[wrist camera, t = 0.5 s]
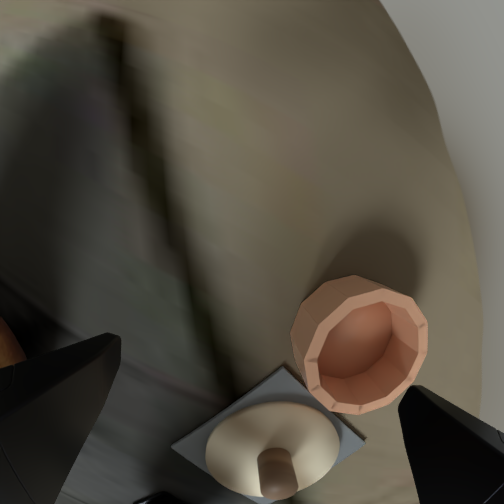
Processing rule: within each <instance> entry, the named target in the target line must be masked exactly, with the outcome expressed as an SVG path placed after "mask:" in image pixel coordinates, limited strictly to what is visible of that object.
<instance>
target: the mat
mask: <svg viewBox="0 0 504 504" xmlns="http://www.w3.org/2000/svg"><path fill="white" fill-rule="evenodd" d="M275 401H286V402H296V403H301V404H305V405H308V406H310V407H313V408H315V409H317V410H319V411H320V412H322V413H323V414H324V415H326V416H327V417H328V418H329V419H330V421H331V422H332V424H333V425H334V427H335V429H336V431H337V434H338V436H339V442H340V448H339V453H338V456H337V459H336V461H335V463H334V464H333V466H332V467H334V466H335V465H337V464H338V463H339V462H341V461H342V460H344V459H345V458H347V457H348V456H350V455H351V454H352V453H354V452H355V451H357V450H358V449H359V448H361V447H362V446H363V445H365V444H366V443H365V441H364V440H362V439H361V438H360V437H359V436H358V435H357V434H356V433H354V432H353V431H352V430H351V429H350V428H349V427H348V426H347V425H345V424H344V423H343V422H342V421H341V420H340V419H339V418H338V417H337V416H335V415H334V414H333V413H332V412H331V411H329V410H328V409H327V408H326V407H325V406H324V405H323V404H321V403H320V402H319V401H318V400H317V399H316V398H315V397H314V396H313V395H312V394H311V393H310V392H309V391H308V389H306V388H305V387H304V386H303V385H302V384H301V383H300V382H299V381H298V380H297V379H296V378H295V377H294V376H293V375H292V374H291V373H290V372H289V371H288V370H287V369H286V368H285V367H284V366H282V367H280V368H279V369H278V370H277V371H275V372H274V373H273V374H271V375H270V376H269V377H268V378H266V379H265V380H264V381H262V382H261V383H260V384H259V385H257V386H256V387H255V388H253V389H252V390H251V391H249V392H248V393H247V394H245V395H244V396H243V397H241V398H240V399H238V400H237V401H236V402H234V403H233V404H232V405H230V406H229V407H227V408H226V409H225V410H223V411H222V412H220V413H219V414H217V415H216V416H215V417H213V418H212V419H210V420H209V421H207V422H206V423H204V424H203V425H201V426H200V427H198V428H197V429H195V430H194V431H192V432H191V433H189V434H188V435H186V436H185V437H183V438H182V439H180V440H178V441H177V442H175V443H174V444H172V445H171V448H172V449H174V450H175V451H176V452H178V453H179V454H180V455H182V456H183V457H185V458H186V459H187V460H189V461H190V462H192V463H193V464H195V465H196V466H197V467H199V468H200V469H202V470H203V471H205V472H206V473H208V474H209V475H211V473H210V472H209V470H208V467H207V465H206V459H205V455H206V445H207V441H208V438H209V436H210V434H211V432H212V431H213V429H214V428H215V427H216V426H217V425H218V424H219V423H220V422H221V421H222V420H223V419H225V418H226V417H227V416H229V415H231V414H232V413H234V412H236V411H238V410H240V409H243V408H246V407H248V406H251V405H255V404H259V403H266V402H275ZM332 467H331V468H332ZM331 468H330V469H331ZM211 476H212V475H211ZM242 495H244V494H242ZM244 496H246V497H248V498H249V499H251V500H253V501H255V502H257V503H259V504H270V503H272V502H274V501H276V500H271V499H267V498H265V497H257V496H250V495H244Z"/></svg>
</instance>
